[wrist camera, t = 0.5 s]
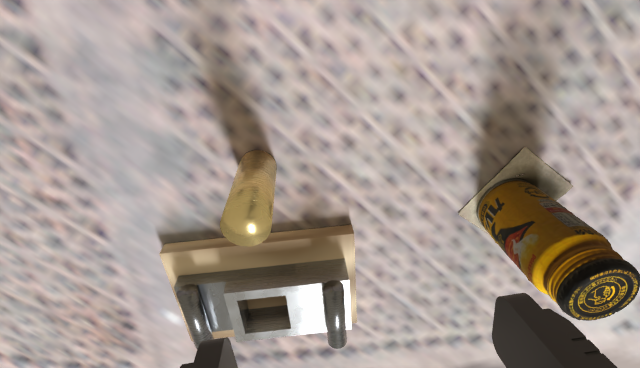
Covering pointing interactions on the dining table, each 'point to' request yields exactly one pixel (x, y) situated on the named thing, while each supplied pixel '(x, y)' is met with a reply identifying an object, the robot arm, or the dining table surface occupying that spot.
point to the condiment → (552, 240)
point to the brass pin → (250, 200)
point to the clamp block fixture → (266, 285)
